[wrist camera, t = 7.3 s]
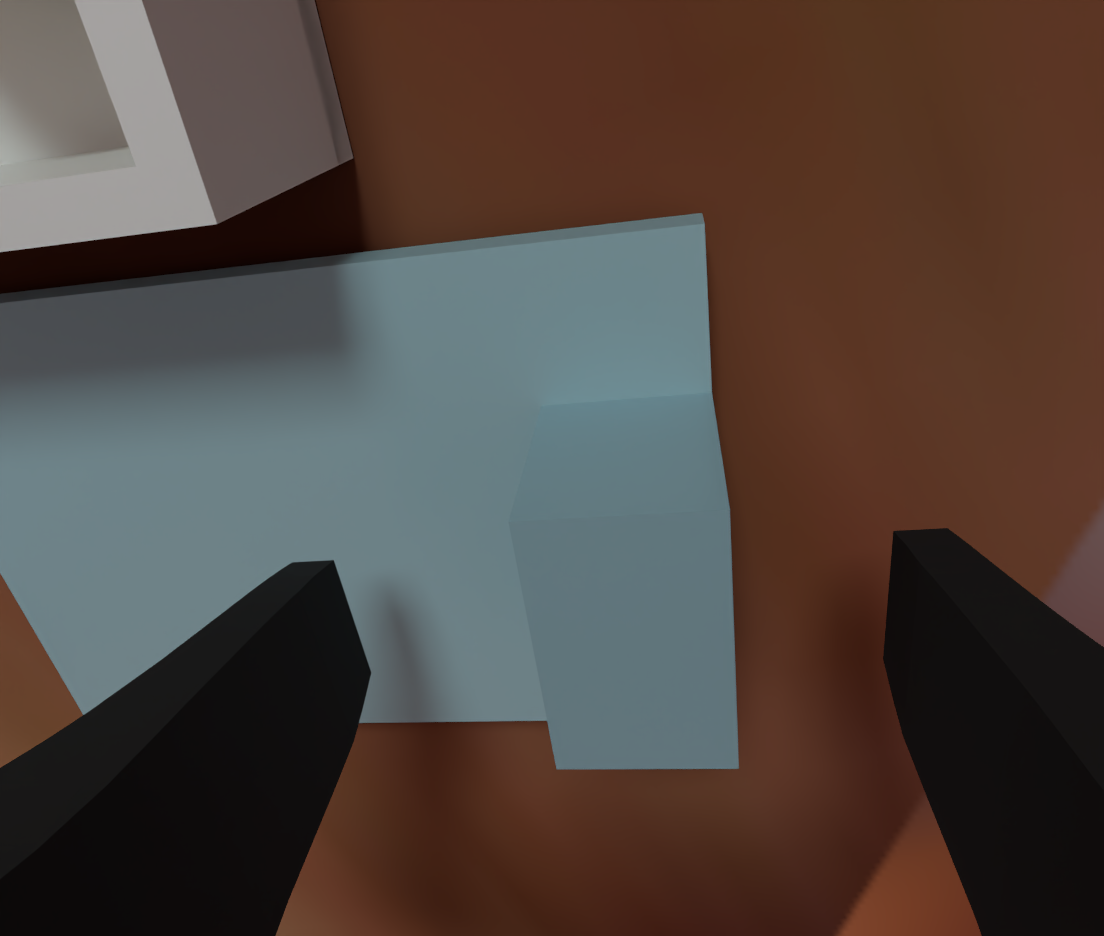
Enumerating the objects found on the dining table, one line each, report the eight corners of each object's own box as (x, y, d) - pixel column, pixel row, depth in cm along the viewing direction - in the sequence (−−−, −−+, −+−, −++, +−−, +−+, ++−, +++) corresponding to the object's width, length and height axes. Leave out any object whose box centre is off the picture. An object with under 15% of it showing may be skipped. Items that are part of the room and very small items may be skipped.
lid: (129, 676, 17) (-18, 863, 13) (-75, 291, 13) (-370, 405, 9) (720, 662, 15) (742, 878, 11) (699, 200, 11) (723, 299, 7)
